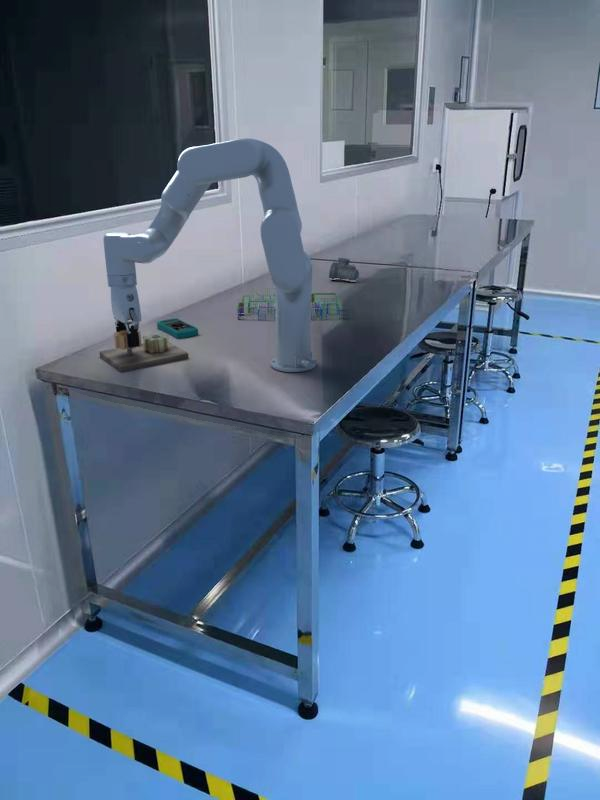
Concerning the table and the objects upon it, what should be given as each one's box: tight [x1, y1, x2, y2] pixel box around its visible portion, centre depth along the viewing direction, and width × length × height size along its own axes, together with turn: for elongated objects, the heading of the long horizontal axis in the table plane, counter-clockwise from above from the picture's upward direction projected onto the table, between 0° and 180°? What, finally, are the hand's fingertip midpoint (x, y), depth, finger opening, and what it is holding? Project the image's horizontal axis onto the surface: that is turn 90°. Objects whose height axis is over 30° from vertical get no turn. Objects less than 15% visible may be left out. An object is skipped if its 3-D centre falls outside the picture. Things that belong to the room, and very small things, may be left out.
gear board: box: [99, 333, 189, 373], centre depth 183 cm, size 16×20×6 cm
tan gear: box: [113, 330, 142, 350], centre depth 179 cm, size 7×7×4 cm
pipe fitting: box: [328, 257, 360, 280], centre depth 277 cm, size 12×8×10 cm
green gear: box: [142, 332, 170, 353], centre depth 185 cm, size 7×7×4 cm
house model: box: [236, 288, 341, 321], centre depth 234 cm, size 35×30×5 cm
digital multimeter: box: [156, 317, 199, 340], centre depth 207 cm, size 8×15×3 cm, turn 36°
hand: (128, 342), depth 180 cm, fingers closed on tan gear, 7 cm apart
